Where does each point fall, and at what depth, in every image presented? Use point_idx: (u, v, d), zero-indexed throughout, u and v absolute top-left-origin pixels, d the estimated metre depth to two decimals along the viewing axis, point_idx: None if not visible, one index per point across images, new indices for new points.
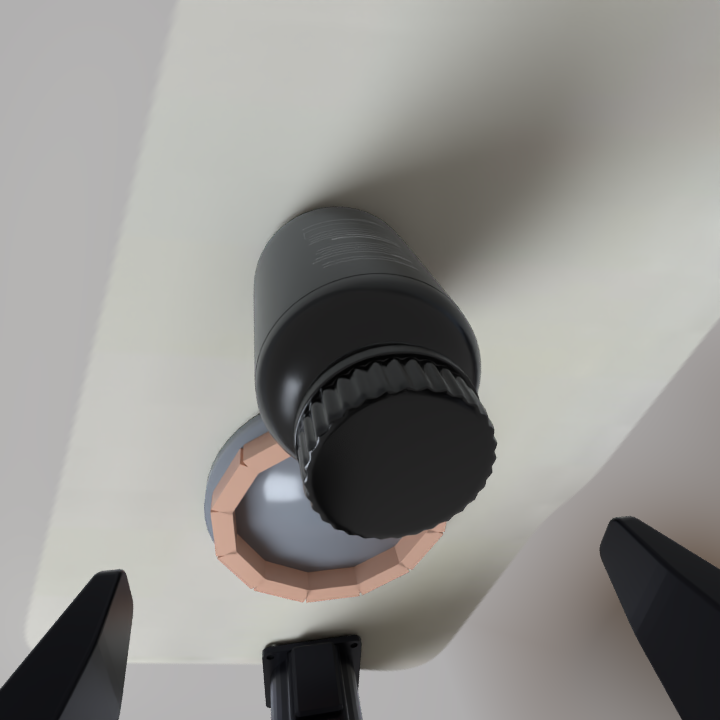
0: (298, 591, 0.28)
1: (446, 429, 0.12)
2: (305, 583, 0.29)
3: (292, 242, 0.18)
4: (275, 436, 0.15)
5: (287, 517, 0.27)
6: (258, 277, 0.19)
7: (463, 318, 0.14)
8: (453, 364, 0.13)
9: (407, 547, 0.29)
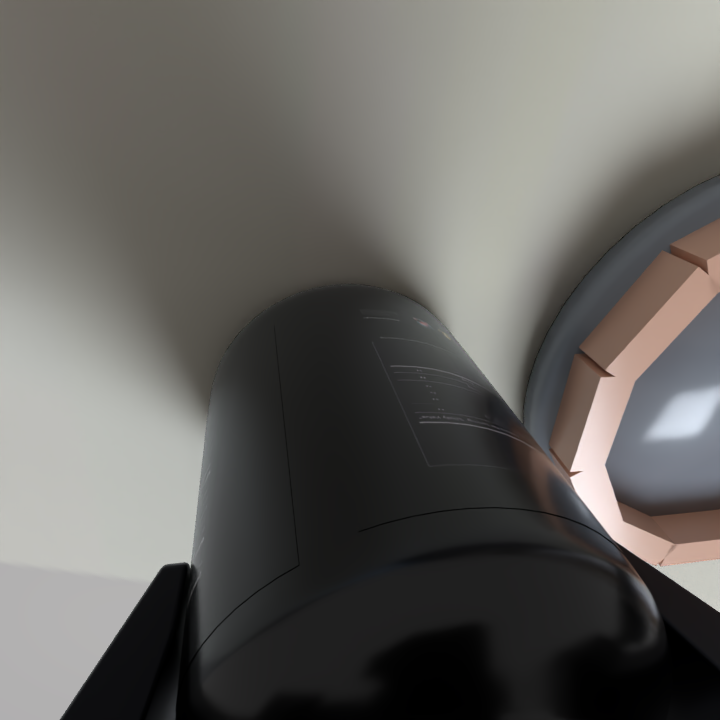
0: None
1: None
2: None
3: None
4: None
5: None
6: None
7: (261, 643, 0.05)
8: None
9: None
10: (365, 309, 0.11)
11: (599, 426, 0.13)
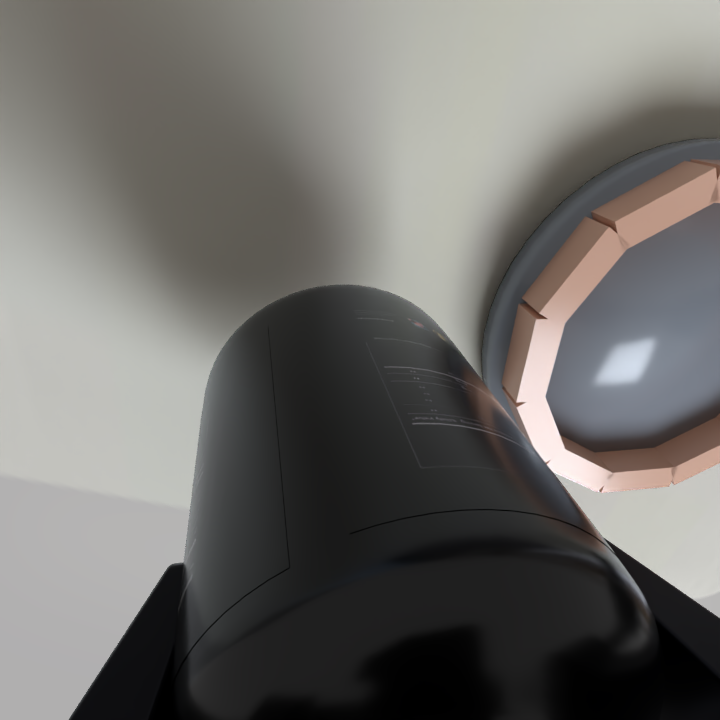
0: None
1: None
2: None
3: None
4: None
5: (659, 394, 0.20)
6: None
7: (251, 647, 0.05)
8: None
9: None
10: (360, 310, 0.11)
11: (538, 362, 0.16)
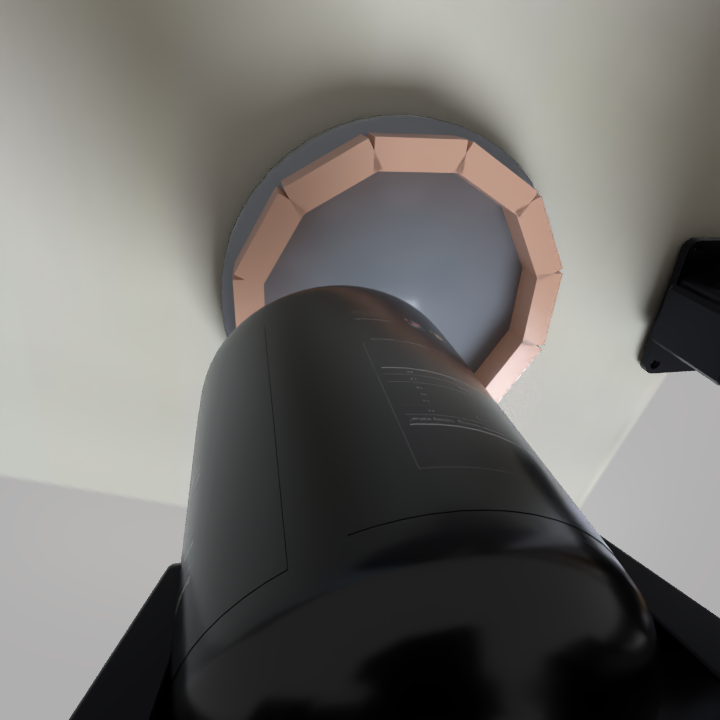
0: (518, 355, 0.21)
1: None
2: (514, 341, 0.21)
3: None
4: None
5: None
6: None
7: (249, 649, 0.05)
8: None
9: (492, 198, 0.18)
10: (356, 310, 0.11)
11: None
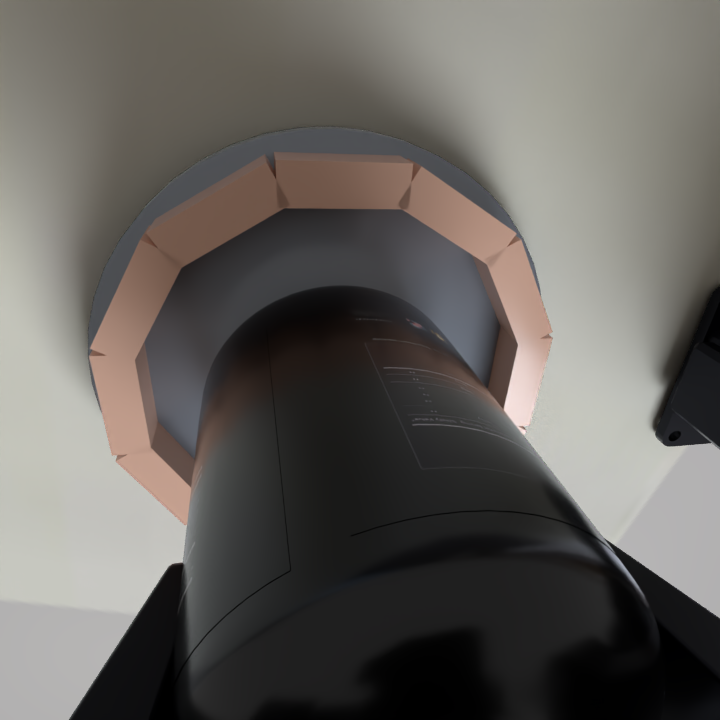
0: None
1: None
2: None
3: None
4: None
5: None
6: None
7: (252, 650, 0.05)
8: None
9: None
10: (358, 310, 0.11)
11: (119, 407, 0.13)
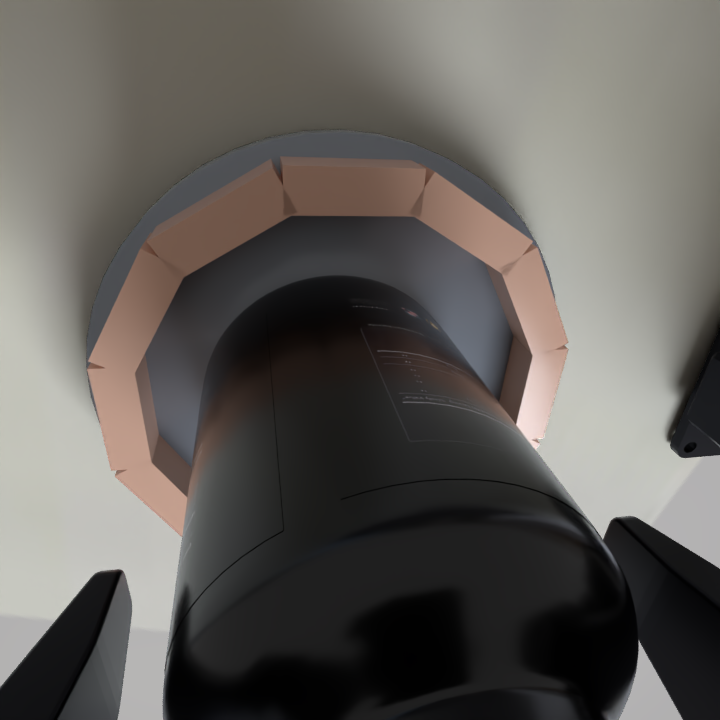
0: None
1: None
2: None
3: None
4: None
5: None
6: None
7: (246, 602, 0.06)
8: None
9: None
10: (354, 298, 0.11)
11: (118, 421, 0.13)
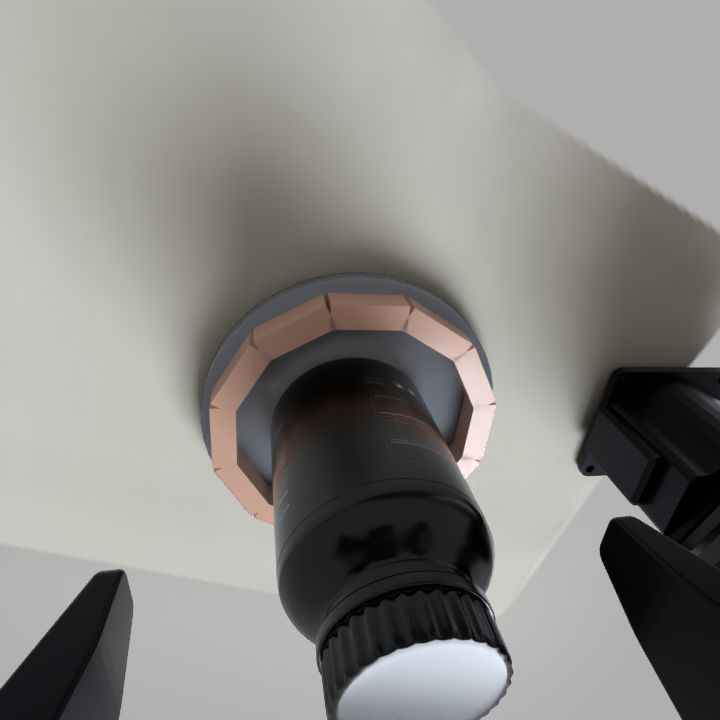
0: (459, 467, 0.24)
1: (382, 682, 0.12)
2: (456, 455, 0.24)
3: None
4: None
5: None
6: None
7: (324, 524, 0.14)
8: (339, 616, 0.13)
9: None
10: (367, 376, 0.20)
11: (221, 439, 0.21)
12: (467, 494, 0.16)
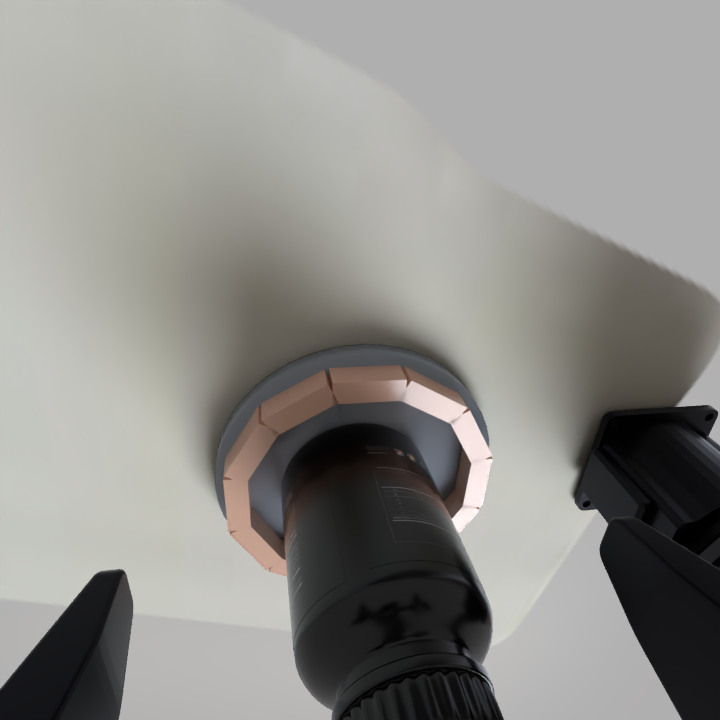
0: (460, 515, 0.25)
1: None
2: (457, 503, 0.25)
3: None
4: None
5: None
6: None
7: (334, 608, 0.16)
8: (351, 698, 0.14)
9: None
10: (369, 446, 0.21)
11: (235, 505, 0.22)
12: (465, 568, 0.17)
